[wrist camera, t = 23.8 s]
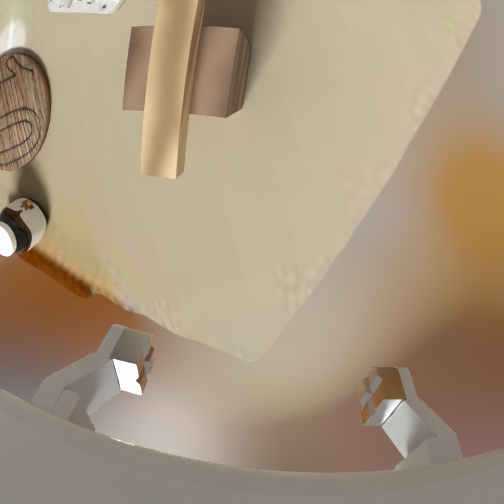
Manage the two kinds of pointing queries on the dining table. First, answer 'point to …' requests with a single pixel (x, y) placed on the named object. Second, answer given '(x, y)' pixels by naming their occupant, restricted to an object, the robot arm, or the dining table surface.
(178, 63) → the oak bar
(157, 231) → the dining table surface
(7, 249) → the spread jar
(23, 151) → the trivet
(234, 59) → the walnut block
